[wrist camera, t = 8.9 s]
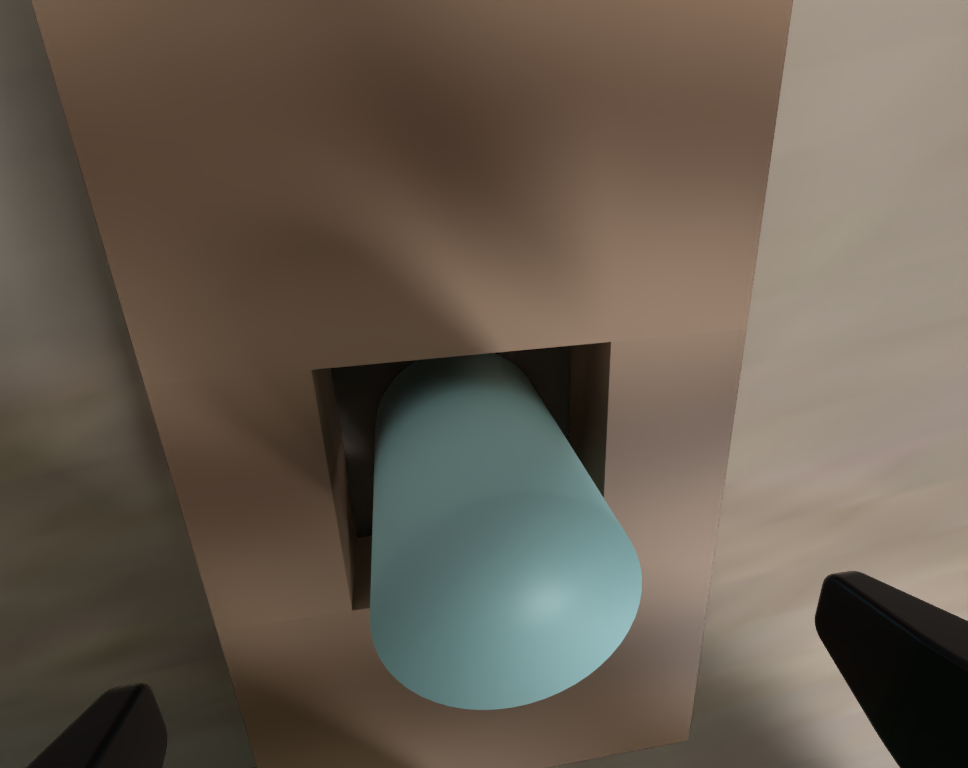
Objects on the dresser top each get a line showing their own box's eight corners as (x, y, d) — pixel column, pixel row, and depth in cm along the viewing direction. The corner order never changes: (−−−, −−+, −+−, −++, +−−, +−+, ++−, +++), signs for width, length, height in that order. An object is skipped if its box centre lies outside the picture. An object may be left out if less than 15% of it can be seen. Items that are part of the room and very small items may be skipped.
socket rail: (649, 665, 18) (688, 740, 16) (288, 727, 16) (272, 820, 14) (715, -20, 11) (802, -65, 9) (101, -16, 10) (10, -68, 7)
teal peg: (540, 487, 15) (633, 686, 9) (385, 506, 14) (385, 729, 9) (540, 340, 13) (652, 475, 8) (365, 355, 13) (352, 512, 7)
